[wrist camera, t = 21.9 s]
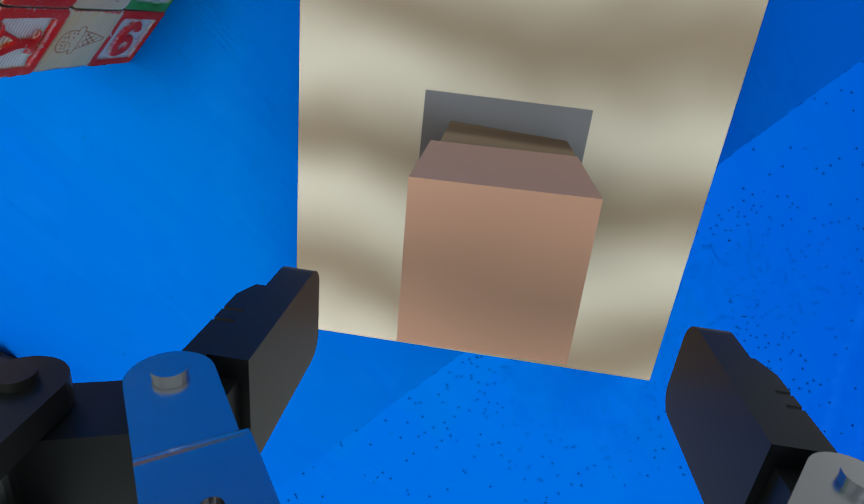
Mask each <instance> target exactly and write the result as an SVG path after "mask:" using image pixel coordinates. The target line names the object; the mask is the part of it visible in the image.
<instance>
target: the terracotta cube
mask: <svg viewBox="0 0 864 504" xmlns="http://www.w3.org/2000/svg"><path fill="white" fill-rule="evenodd" d="M602 201H603V199H602V197H601V195H600V193H599V192H598V190H597V188H596V187H595V185H594V183H593V182H592V180H591V178H590V177H589V175H588V173H587V172H586V170H585V168H584V166H583V165H582V163H581V161H580V160H579V158H578V157H577V156H569V155H560V154H551V153H542V152H533V151H524V150H515V149H506V148H497V147H488V146H479V145H470V144H461V143H452V142H443V141H434V140H431V141H430V142H429V144H428V146H427V147H426V149H425V150H424V152H423V154H422V155H421V157H420V159H419V160H418V162H417V163H416V165H415V167H414V168H413V170H412V172H411V173H410V175H409V177H408V189H407V203H406V217H405V230H404V244H403V258H402V271H401V285H400V298H399V312H398V326H397V339H396V341H399V342H407V343H414V344H421V345H428V346H435V347H443V348H450V349H457V350H464V351H472V352H479V353H486V354H493V355H500V356H508V357H515V358H522V359H529V360H536V361H544V362H551V363H558V364H565V365H567V362H568V358H569V353H570V349H571V344H572V339H573V335H574V330H575V326H576V321H577V316H578V312H579V307H580V303H581V298H582V293H583V289H584V284H585V280H586V275H587V270H588V266H589V261H590V257H591V252H592V247H593V243H594V238H595V234H596V229H597V224H598V220H599V215H600V211H601V206H602Z"/></svg>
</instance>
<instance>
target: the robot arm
mask: <svg viewBox="0 0 864 504" xmlns="http://www.w3.org/2000/svg"><path fill="white" fill-rule="evenodd" d="M318 320H319V274H318V272H317V271H313V270H306V269H299V268H292V267H285V266H284V267H282V268H281V269H280V270H279V271H278V272H277V274H276V275H275V276H274V277H273V278H272V279H271V280H270V282H269V283H268V284H267V285H266V286H265V285H258V284H256V285H254V286H252V287H249V288H247V289H245V290H243V291H241V292H239V293H237V294H236V295H235V296H234V297H233V298H232V299H231V300H230V301H229V302H228V303H227V304H226V305H225V307H224V309H221V310H220V312H219V313H218V314H217V315H216V316H215V318H214V320H213V319H212V320H211V321H210V322H209V323H208V324H207V325H206V326H205V327H204V328H203V329H202V330H201V331H200V332H199V333H198V335H197V336H196V337H195V338H194V339H193V340H192V341H191V342H190V343H189V344H188V345H187V346H186V347H185V348H184V349H183V350H182V351H173V352H166V353H161V354H157V355H154V356H151V357H149V358H146V359H144V360H142V361H140V362H139V363H137V364H136V365H134V366H133V367H132V368H131V369H130V370H129V371H128V372H127V373H126V375H125V376H124V379H123V380H121V381H107V382H88V383H72V378H71V373H70V368H69V366H68V365H67V364H66V363H65V362H64V361H62V360H60V359H57V358H54V357H48V356H30V357H22V358H16V359H12V360H8V361H5V362H2V363H0V504H280V502H279V500H278V497H277V495H276V492H275V490H274V487H273V485H272V482H271V480H270V477H269V475H268V472H267V470H266V467H265V465H264V462H263V460H262V457H261V455H260V453H261V451H262V450H263V448H264V446H265V444H266V442H267V440H268V439H269V437H270V435H271V433H272V431H273V430H274V428H275V426H276V424H277V422H278V421H279V419H280V417H281V415H282V413H283V411H284V410H285V408H286V406H287V404H288V402H289V401H290V399H291V397H292V395H293V393H294V391H295V390H296V388H297V386H298V384H299V382H300V381H301V379H302V377H303V375H304V373H305V371H306V370H307V368H308V366H309V364H310V362H311V360H312V358H313V356H314V353H315V349H316V345H317V339H318ZM665 404H666V413H667V416H668V419H669V421H670V424H671V426H672V428H673V431H674V433H675V435H676V438H677V440H678V442H679V445H680V447H681V450H682V452H683V454H684V457H685V459H686V461H687V464H688V466H689V468H690V471H691V473H692V476H693V478H694V480H695V483H696V485H697V487H698V490H699V492H700V494H701V497H702V499H703V501H704V504H864V462H863V461H860V460H858V459H855V458H853V457H850V456H847V455H843V454H840V453H837V452H836V450H835V449H834V448H833V446H832V445H831V444H830V443H829V441H828V440H827V439H826V437H825V436H824V435H823V434H822V432H821V431H820V430H819V428H818V427H817V426H816V425H815V423H814V422H813V421H812V419H811V418H810V417H809V416H808V414H807V413H806V412H805V411H802V407H801V405H800V404H799V403H798V402H797V400H796V399H795V398H794V396H790V391H789V390H788V389H787V387H786V386H785V385H784V384H783V382H782V381H781V380H780V378H779V377H778V376H777V375H776V374H775V373H773V372H772V371H771V370H769V369H768V368H767V367H765V366H764V365H763V364H761V363H760V362H759V361H757V360H756V359H753V358H750V356H749V355H748V354H747V352H746V351H745V350H744V348H743V347H742V346H741V344H740V343H739V342H738V340H737V339H736V338H735V336H734V335H733V334H732V333H731V332H728V331H721V330H714V329H707V328H700V327H691V328H689V329H688V330H687V332H686V334H685V336H684V339H683V342H682V345H681V348H680V351H679V353H678V356H677V359H676V362H675V365H674V368H673V371H672V374H671V377H670V380H669V383H668V387H667V391H666V400H665Z"/></svg>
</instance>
